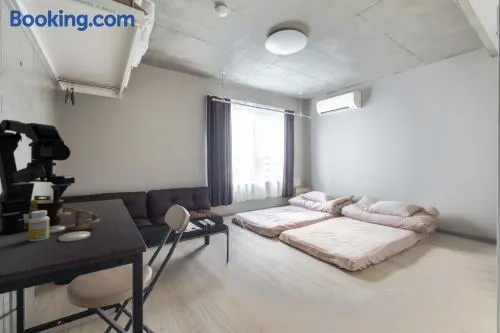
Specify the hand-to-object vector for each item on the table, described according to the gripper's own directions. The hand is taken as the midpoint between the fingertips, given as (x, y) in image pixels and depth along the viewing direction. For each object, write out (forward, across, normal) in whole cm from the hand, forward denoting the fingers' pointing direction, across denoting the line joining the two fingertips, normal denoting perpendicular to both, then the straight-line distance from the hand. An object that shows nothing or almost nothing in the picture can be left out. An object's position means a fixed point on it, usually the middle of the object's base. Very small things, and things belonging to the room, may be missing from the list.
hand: (41, 203), depth 80 cm
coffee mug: (+13, -10, +19) cm, 25 cm away
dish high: (+12, -3, +9) cm, 16 cm away
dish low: (+12, +11, +1) cm, 16 cm away
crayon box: (+13, -18, +21) cm, 31 cm away
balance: (+12, +4, +12) cm, 18 cm away
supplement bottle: (+13, 0, -1) cm, 13 cm away
